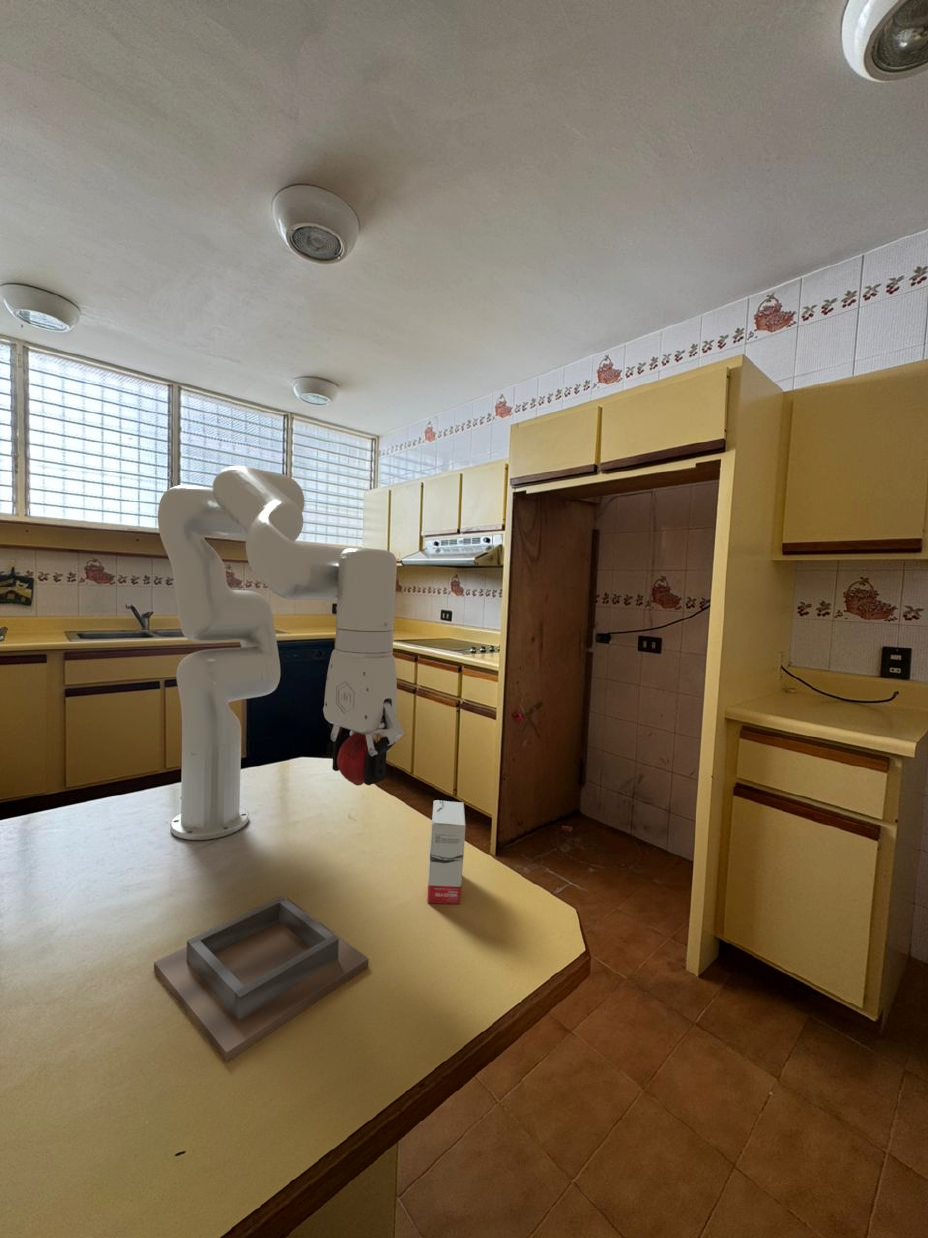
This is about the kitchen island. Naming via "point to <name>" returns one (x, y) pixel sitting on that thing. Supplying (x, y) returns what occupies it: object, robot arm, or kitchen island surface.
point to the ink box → (446, 852)
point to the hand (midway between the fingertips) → (358, 774)
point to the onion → (353, 758)
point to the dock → (257, 973)
